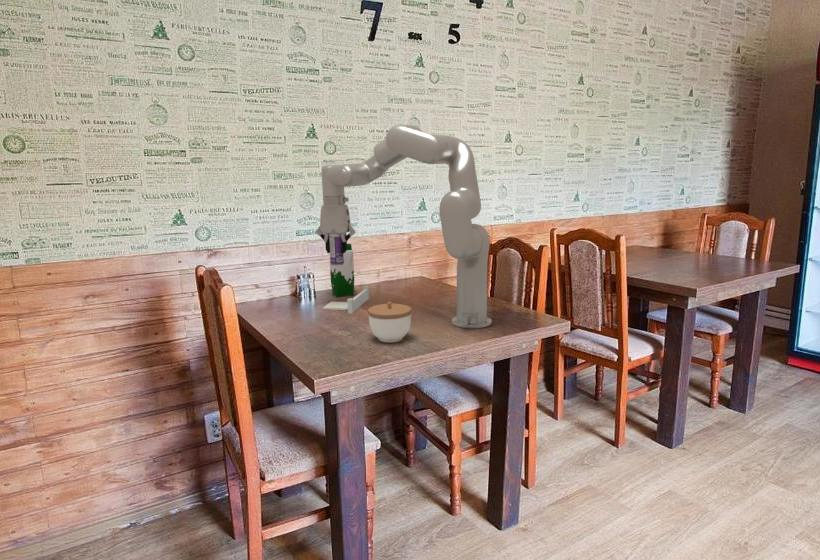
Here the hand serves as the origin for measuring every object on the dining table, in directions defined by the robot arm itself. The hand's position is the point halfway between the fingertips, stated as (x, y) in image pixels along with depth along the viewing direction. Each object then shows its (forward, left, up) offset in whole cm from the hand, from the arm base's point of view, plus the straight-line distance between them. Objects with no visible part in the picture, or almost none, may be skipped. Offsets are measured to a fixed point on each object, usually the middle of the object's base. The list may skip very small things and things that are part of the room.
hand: (336, 252), depth 196 cm
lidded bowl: (-34, -27, -20) cm, 48 cm away
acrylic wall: (+2, -7, -20) cm, 21 cm away
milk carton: (+18, +5, -20) cm, 27 cm away
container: (0, 0, -5) cm, 5 cm away
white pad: (0, 0, -20) cm, 20 cm away
